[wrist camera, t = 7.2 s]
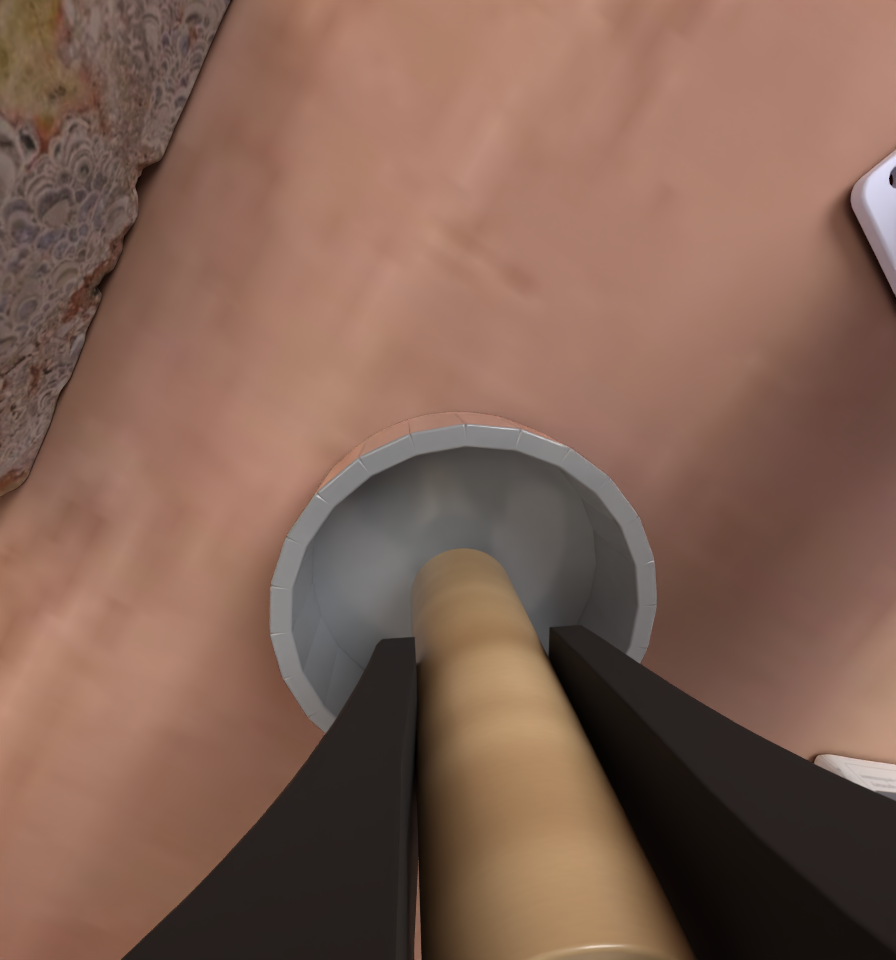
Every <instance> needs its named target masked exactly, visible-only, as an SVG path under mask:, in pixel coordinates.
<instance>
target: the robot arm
mask: <svg viewBox="0 0 896 960" xmlns="http://www.w3.org/2000/svg"><path fill="white" fill-rule="evenodd" d="M890 173H891V175H892V176H893V184H892V186H891V185H890V182H889V176H890ZM851 205H852V208H853V210H854V213H855V215H856V217H857V219H858V221H859V223H860V225H861V227H862V229H863V231H864V233H865V235H866V237H867V239H868V241H869V243H870V245H871V247H872V249H873V251H874V253H875V255H876V257H877V259H878V261H879V263H880V266H881V268H882V270H883V272H884V274H885V276H886V278H887V280H888V282H889V284H890V286H891V288H892V290H893V292H894V294H895V296H896V150H894V151H893V152H892V153H891V154H889V155H888V156H887V157H886V158H884V159H883V160H882V161H881V162H880V163H878V164H877V165H876V166H875V167H873V168H872V169H871V170H870V171H868V172H867V173H866V174H865V175H864V176H862V177H861V178H860V179H859V180H858V181H857V183H856V184H855V185H854V188H853V190H852V192H851ZM549 659H550V661H551V663H552V666H553V668H554V670H555V672H556V674H557V676H558V678H559V680H560V682H561V684H562V686H563V688H564V690H565V692H566V694H567V696H568V698H569V700H570V702H571V704H572V706H573V708H574V710H575V712H576V714H577V716H578V718H579V720H580V722H581V724H582V726H583V728H584V730H585V732H586V734H587V736H588V738H589V740H590V742H591V744H592V746H593V748H594V750H595V753H596V755H597V757H598V759H599V761H600V763H601V765H602V767H603V769H604V771H605V773H606V775H607V777H608V779H609V781H610V783H611V785H612V787H613V789H614V791H615V793H616V795H617V797H618V799H619V801H620V803H621V805H622V807H623V809H624V811H625V813H626V815H627V817H628V819H629V821H630V823H631V825H632V827H633V829H634V831H635V833H636V835H637V837H638V839H639V842H640V844H641V846H642V848H643V850H644V852H645V854H646V856H647V858H648V860H649V862H650V864H651V866H652V868H653V870H654V872H655V874H656V876H657V878H658V880H659V882H660V884H661V886H662V888H663V890H664V892H665V894H666V896H667V898H668V900H669V902H670V904H671V906H672V908H673V910H674V912H675V914H676V916H677V918H678V920H679V922H680V924H681V926H682V928H683V931H684V933H685V935H686V937H687V939H688V941H689V943H690V945H691V947H692V949H693V951H694V953H695V955H696V957H697V959H698V960H896V801H895V800H893V799H891V798H888V797H886V796H884V795H882V794H879V793H877V792H875V791H872V790H870V789H868V788H866V787H863V786H861V785H859V784H856V783H854V782H852V781H850V780H848V779H845V778H843V777H841V776H839V775H837V774H835V773H833V772H830V771H828V770H826V769H824V768H822V767H820V766H818V765H816V764H814V763H812V762H810V761H808V760H806V759H804V758H802V757H800V756H798V755H796V754H794V753H792V752H790V751H788V750H786V749H784V748H782V747H780V746H778V745H776V744H774V743H772V742H770V741H768V740H766V739H764V738H762V737H761V736H759V735H757V734H755V733H753V732H751V731H750V730H748V729H746V728H744V727H742V726H740V725H739V724H737V723H735V722H733V721H732V720H730V719H728V718H727V717H725V716H723V715H721V714H720V713H718V712H716V711H715V710H713V709H711V708H709V707H708V706H706V705H704V704H703V703H701V702H699V701H698V700H696V699H694V698H693V697H691V696H689V695H688V694H686V693H685V692H683V691H681V690H680V689H678V688H677V687H675V686H673V685H672V684H670V683H669V682H667V681H666V680H664V679H662V678H661V677H659V676H658V675H656V674H655V673H653V672H652V671H650V670H649V669H647V668H646V667H644V666H643V665H641V664H640V663H638V662H637V661H635V660H634V659H632V658H631V657H629V656H628V655H626V654H625V653H623V652H622V651H620V650H619V649H617V648H616V647H615V646H613V645H612V644H610V643H609V642H607V641H606V640H604V639H603V638H601V637H600V636H598V635H597V634H595V633H593V632H592V631H590V630H589V629H587V628H585V627H584V626H582V625H572V626H558V627H549ZM417 708H418V698H417V674H416V652H415V637H404V638H390V639H382V640H381V641H380V642H379V643H378V644H377V645H376V647H375V649H374V652H373V654H372V656H371V658H370V660H369V662H368V665H367V666H366V668H365V670H364V672H363V674H362V676H361V678H360V680H359V681H358V683H357V685H356V687H355V688H354V690H353V692H352V693H351V695H350V697H349V698H348V700H347V702H346V703H345V705H344V707H343V708H342V710H341V711H340V713H339V715H338V716H337V718H336V719H335V721H334V722H333V724H332V725H331V727H330V728H329V730H328V731H327V732H326V734H325V735H324V737H323V738H322V740H321V741H320V742H319V744H318V745H317V747H316V748H315V750H314V751H313V752H312V754H311V755H310V757H309V758H308V760H307V761H306V762H305V764H304V765H303V766H302V767H301V769H300V770H299V771H298V773H297V774H296V775H295V777H294V778H293V779H292V780H291V782H290V783H289V784H288V785H287V787H286V788H285V789H284V791H283V792H282V793H281V794H280V795H279V797H278V798H277V799H276V800H275V801H274V803H273V804H272V805H271V806H270V807H269V809H268V810H267V811H266V812H265V813H264V814H263V816H262V817H261V818H260V819H259V820H258V821H257V823H256V824H255V825H254V826H253V827H252V828H251V829H250V830H249V831H248V832H247V834H246V835H245V836H244V837H243V838H242V839H241V840H240V841H239V842H238V843H237V845H236V846H235V847H234V848H233V849H232V850H231V851H230V852H229V853H228V854H227V856H226V857H225V858H224V859H223V860H222V861H221V862H220V863H219V864H218V865H217V866H216V867H215V868H214V869H213V870H212V872H211V873H210V874H209V875H208V876H207V877H206V878H205V879H204V880H203V881H202V882H201V883H200V884H199V885H198V886H197V887H196V888H195V889H194V890H193V891H192V892H191V893H190V894H189V895H188V896H187V897H186V898H185V899H184V900H183V901H182V902H181V903H180V904H179V905H178V906H177V907H176V908H175V909H174V910H172V911H171V912H170V913H169V914H168V915H167V916H166V917H165V918H164V919H163V920H162V921H161V922H160V923H159V924H158V925H157V926H156V927H155V928H154V929H153V930H152V931H150V932H149V933H148V934H147V935H146V936H145V937H144V938H143V939H142V940H141V941H140V942H139V943H138V944H137V945H136V946H135V947H134V948H133V949H132V950H131V951H129V952H128V953H127V954H126V955H125V956H124V957H123V958H122V959H121V960H414V937H415V916H416V895H417V874H418V825H417V792H416V729H417Z"/></svg>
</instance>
